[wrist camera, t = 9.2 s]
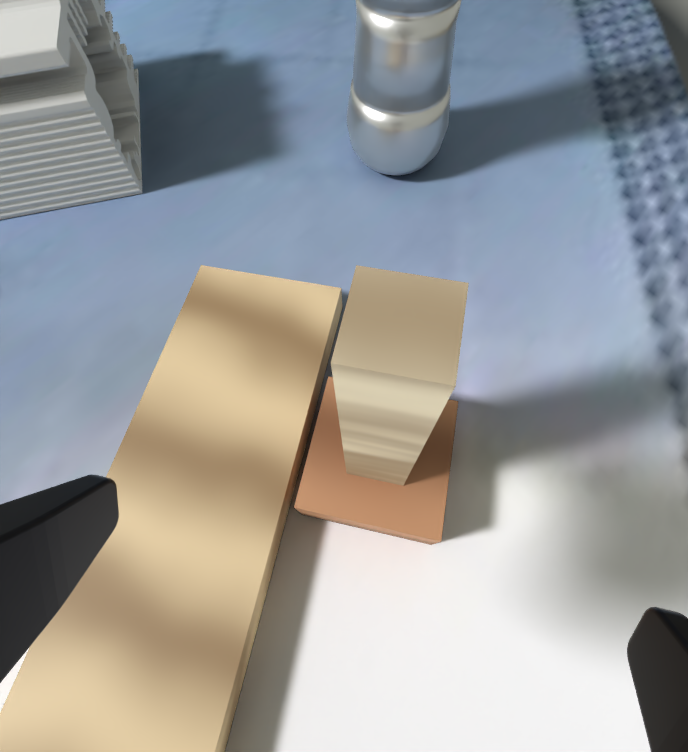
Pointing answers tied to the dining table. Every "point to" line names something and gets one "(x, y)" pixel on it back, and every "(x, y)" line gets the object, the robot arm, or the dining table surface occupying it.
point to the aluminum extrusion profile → (65, 107)
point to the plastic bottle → (401, 82)
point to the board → (185, 530)
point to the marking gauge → (388, 408)
